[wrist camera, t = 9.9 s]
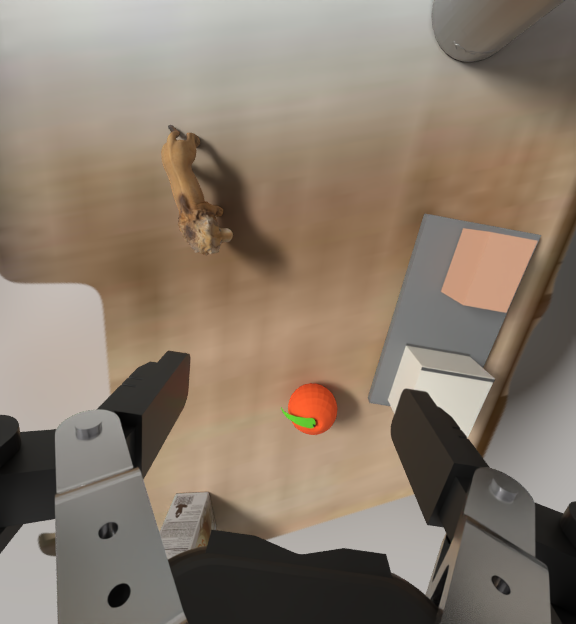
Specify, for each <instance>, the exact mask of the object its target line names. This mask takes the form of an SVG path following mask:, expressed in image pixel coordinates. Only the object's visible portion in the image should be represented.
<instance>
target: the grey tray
mask: <svg viewBox="0 0 576 624" xmlns="http://www.w3.org/2000/svg"><path fill="white" fill-rule="evenodd" d="M463 228H466V229H473V230H480V231H487V232H493V233H499V234H504V235H510V236H515V237H520V238H526V239H531V240H537V241H539V239H540V237H541V235H537V234H532V233H526V232H521V231H515V230H510V229H505V228H499V227H494V226H489V225H483V224H478V223H472V222H467V221H462V220H456V219H451V218H446V217H440V216H435V215H430V214H424V217H423V220H422V223H421V226H420V230H419V233H418V236H417V239H416V243H415V246H414V249H413V252H412V256H411V259H410V262H409V265H408V269H407V272H406V275H405V278H404V282H403V285H402V288H401V291H400V295H399V298H398V301H397V304H396V308H395V311H394V314H393V317H392V321H391V324H390V327H389V330H388V334H387V337H386V340H385V343H384V347H383V350H382V353H381V356H380V360H379V363H378V366H377V369H376V373H375V376H374V379H373V382H372V386H371V389H370V392H369V395H368V400H369V403H374V404H380V405H386V406H391V408H392V410H393V412H394V414H395V411H396V408H397V405H398V402H399V399H400V396H401V393H402V391H403V390H404V389H406V388H407V389H413V390H420V391H426V392H427V393H428V394H429V395H430V397H431V398H432V399H433V401H434V402H435V404H436V405H437V407H440V408H442V409H443V410H444V411H445V412H446V413H448V414H449V415H450V416H451V417H452V418H453V419H454V420H455V422H456V423H457V424H458V426H459V427H460V430H462V431H463V432H464V434H465V435H466V436H467V438H468V436H469V434H470V431H471V429H472V427H473V425H474V423H475V421H476V418H477V416H478V414H479V412H480V410H481V408H482V405H483V403H484V401H485V399H486V397H487V394H488V392H489V390H490V388H491V386H492V384H493V383H494V381H495V378H494V377H492V376H491V375H490V374H489V373H488V372H487V371H486V370H484V369H483V367H484V364H485V362H486V360H487V358H488V355H489V353H490V351H491V349H492V346H493V344H494V342H495V339H496V337H497V335H498V333H499V330H500V328H501V326H502V323H503V321H504V319H505V317H506V314H507V312H508V310H509V308H508V310H507V312H506V313H505V312H499V311H493V310H488V309H482V308H477V307H471V306H465V305H462V304H460V303H459V302H457V301H455V300H454V299H452V298H451V297H449V296H447V295H446V294H444V293H442V292H441V290H442V287H443V284H444V281H445V278H446V275H447V273H448V270H449V267H450V264H451V261H452V258H453V256H454V253H455V250H456V247H457V244H458V241H459V239H460V236H461V233H462V230H463ZM537 244H538V242H537ZM537 244H536V246H537ZM536 246H535V248H536ZM534 250H535V249H534ZM533 253H534V251H533ZM533 253H532V255H533ZM532 255H531V257H532ZM530 260H531V258H530ZM530 260H529V262H530ZM529 262H528V264H529ZM527 266H528V265H527ZM526 269H527V267H526ZM526 269H525V271H526ZM525 271H524V273H525ZM523 276H524V274H523ZM523 276H522V278H523ZM522 278H521V280H522ZM520 282H521V281H520ZM519 285H520V283H519ZM519 285H518V287H519ZM518 287H517V289H518ZM516 292H517V290H516ZM516 292H515V294H516ZM515 294H514V296H515ZM514 296H513V298H514ZM512 301H513V299H512ZM512 301H511V303H512ZM511 303H510V305H511ZM509 307H510V306H509Z"/></svg>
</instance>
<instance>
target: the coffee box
mask: <svg viewBox="0 0 576 624" xmlns="http://www.w3.org/2000/svg"><path fill="white" fill-rule="evenodd" d="M211 530H216V524H215V519H214V514H213V509H212V505H211V500H210V495H209V492H198V493H178V494H176V495H175V497H174V499H173V502H172V504H171V506H170V509H169V511H168V513H167V516H166V518H165V520H164V523H163V525H162V527H161V530H160V532H159V533H160V537H161V540H162V543H163V546H164V550H165V553H166V556H167V559H170V558H172V557H173V556H175V555H177V554H180V553H182V552H184V551H187V550H190V549H194V548H197V547H202V546H207V545H208V541H209V537H210V534H211Z"/></svg>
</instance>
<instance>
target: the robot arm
mask: <svg viewBox="0 0 576 624" xmlns="http://www.w3.org/2000/svg"><path fill="white" fill-rule="evenodd" d="M563 1H565V0H434V1H433V8H432V25H433V30H434V34H435V37H436V39H437V41H438V43H439V45H440V47H441V48H442V49H443V50H444V51H445V52H446V53H447V54H448V55H450V56H451V57H452V58H454V59H457V60H460V61H464V62H474V61H480V60H483V59H485V58H487V57H490V56H492V55H493V54H494V53H496V52H497V51H499V50H500V49H502V48H503V47H504V46H505V45H507V44H508V43H509V42H511V41H512V40H513V39H515V38H516V37H517V36H519V35H520V34H521V33H523V32H524V31H525V30H527V29H528V28H529V27H531V26H532V25H533V24H535V23H536V22H537V21H538V20H540V19H541V18H542V17H544V16H545V15H546V14H548V13H549V12H550V11H552V10H553V9H554V8H555V7H557V6H558V5H559V4H561V3H562V2H563ZM189 373H190V354H187V353H181V352H174V351H167V352H166V353H165V355H164V356H163V357H162V358H161V359H160V360H159V361H158V362H157V363H156V362H149V363H147V364H145V365H143V366H141V367H138V368H137V369H136V370H135V371H134V372H133V373H132V374H131V375H130V376H129V378H127V379H126V380H125V381H124V382H123V383H122V385H120V386H119V387H118V388H117V389H116V390H115V391H114V392H113V393H112V394H111V395H110V396H109V397H108V399H107V400H106V401H105V402H104V403H103V404H102V405H101V406H100V407H99V408H98V409H97V410H88V411H84V412H80V413H78V414H75V415H73V416H71V417H69V418H67V419H66V420H65V421H63V422H62V423H61V424H60V425H59V426H58V428H57V429H54V430H42V431H29V432H20V429H19V423H18V421H17V420H16V419H15V418H13V417H11V416H7V415H0V553H1V552H2V551H3V549H4V548H5V547H6V546H7V544H8V543H9V542H10V540H11V539H12V538H13V537H14V535H15V534H16V533H17V532H18V530H19V529H20V528H21V527H22V525H23V524H26V523H32V522H38V521H45V520H51V519H55V528H56V570H57V609H58V611H57V612H58V624H576V502H571V503H570V504H569V506H568V507H567V509H566V511H565V512H564V514H563V513H560V512H558V511H555V510H553V509H550V508H547V507H545V506H542V505H540V504H537V503H534V500H533V498H532V496H531V495H530V494H529V493H528V491H527V490H526V489H525V488H524V487H523V486H522V485H521V484H520V483H518V482H517V481H516V480H515V479H513V478H512V477H510V476H508V475H507V474H505V473H503V472H500V471H498V470H496V469H492V468H490V467H489V466H488V465H487V463H486V462H485V461H484V459H483V458H482V457H481V455H480V454H479V453H478V451H477V450H476V448H475V447H474V446H473V444H472V443H471V442H470V440H469V439H467V436H466V435H465V434H464V432H463V431H462V430H460V427H459V426H458V424H457V423H456V422H455V420H454V419H453V418H452V417H451V416H450V415H449V414H448V413H446V412H445V411H444V410H443V409H442V408H440V407H437V405H436V404H435V402H434V401H433V399H432V398H431V397H430V395H429V394H428V393H427V392H426V391H420V390H413V389H407V388H406V389H404V390H403V391H402V393H401V396H400V399H399V402H398V405H397V408H396V411H395V414H394V417H393V420H392V424H391V438H392V441H393V443H394V446H395V448H396V451H397V453H398V455H399V458H400V460H401V463H402V465H403V468H404V470H405V472H406V475H407V477H408V480H409V482H410V485H411V487H412V489H413V492H414V494H415V497H416V499H417V502H418V504H419V506H420V509H421V511H422V514H423V516H424V519H425V521H426V523H427V525H432V526H438V527H444V529H445V531H446V535H445V537H444V539H443V541H442V544H441V547H440V551H439V554H438V557H437V560H436V563H435V566H434V570H433V573H432V576H431V579H430V582H429V586H428V589H427V592H426V595H425V594H423V593H422V592H421V591H420V590H419V589H417V588H416V587H414V586H413V585H412V584H410V583H409V582H408V581H406V580H404V579H403V578H401V577H399V576H397V575H395V574H393V573H391V571H390V567H389V564H388V560H387V556H386V554H380V553H374V552H367V551H360V550H352V549H345V548H342V549H336V550H329V551H323V552H316V553H309V554H297V553H294V552H291V551H289V550H287V549H285V548H282V547H280V546H278V545H275V544H273V543H271V542H268V541H266V540H264V539H261V538H259V537H257V536H253V535H246V534H239V533H232V532H224V531H217V530H211V534H210V537H209V541H208V545H207V546H202V547H197V548H194V549H190V550H187V551H184V552H182V553H180V554H177V555H175V556H173V557H172V558H170V559H167V556H166V553H165V550H164V546H163V543H162V540H161V537H160V533H159V530H158V527H157V523H156V520H155V517H154V514H153V510H152V507H151V504H150V500H149V497H148V494H147V491H146V487H145V484H144V481H143V479H144V477H145V476H146V474H147V472H148V470H149V469H150V467H151V465H152V463H153V461H154V460H155V458H156V456H157V454H158V452H159V451H160V449H161V447H162V445H163V444H164V442H165V440H166V438H167V436H168V435H169V433H170V431H171V429H172V427H173V426H174V424H175V422H176V420H177V419H178V417H179V415H180V413H181V411H182V410H183V408H184V406H185V403H186V400H187V396H188V388H189Z"/></svg>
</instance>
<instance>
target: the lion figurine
mask: <svg viewBox="0 0 576 624" xmlns="http://www.w3.org/2000/svg"><path fill="white" fill-rule="evenodd" d="M168 128H169V129H170V131H171V133H170V135H169V136H168V139H167V143H166V144H164V146H163V148H162V151H161V154H162V162H163V166H164V169H165V171H166V172H167V175H168V177H169V181H170V184H171V188H172V192H173V196H174V199H175V202H176V204H177V207H178V209H179V218H178V219H179V221H178V226H179V227H180V231H181V232H182V233H183V237H185V241H186V242H188V243H189V245H190V246H191V248H192V249H194V250H195V252H196V253H197V252H200V253H202V254H205V255H208V254H212V253H218V252H219V249H220V245H221V243H223V242H229V241H230V240H231V239H232V237H233V233H232V231H231V230H230V229H228V228H224V229H222V228H220V227H219V224H218V222H217V219H216V217H215V216H217V217H218V216H221V215H222V214H223V209H222V208H221V207H219V206H217V205H211V204H209V203H208V202H205V201H204V196H203V193H202V190H201V188H200V185H199V183H198V180H197V178H196V176H195V175H194V173H193V171H192V169H191V165H192V163H193V162H194V160H195V157H196V147H198V146H199V145H200V139H199V137H198V136H197V135H195V134H193V133H187V134H186V135H187V140H178V141H177V140H176V138H177V137H179V135H180V132H179V131H177V129H176V128H175V127H174V126H172V125H169V126H168Z"/></svg>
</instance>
